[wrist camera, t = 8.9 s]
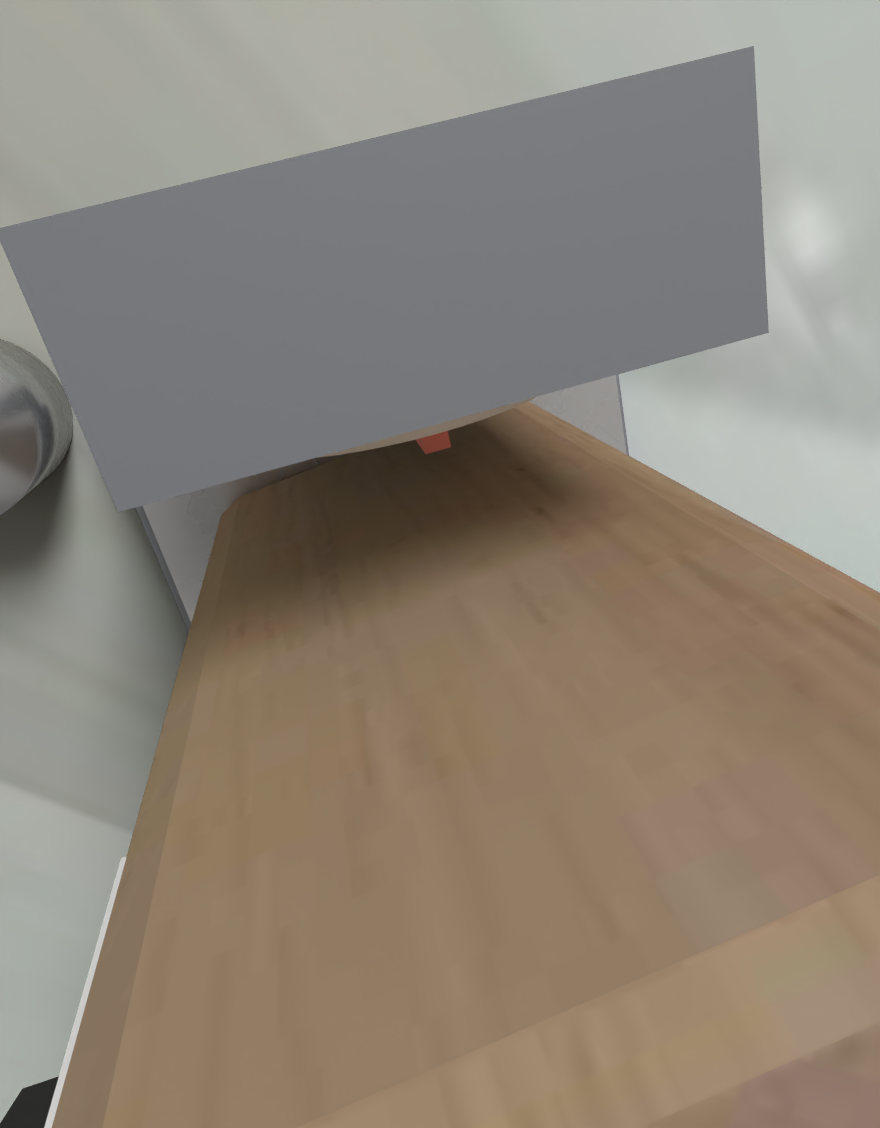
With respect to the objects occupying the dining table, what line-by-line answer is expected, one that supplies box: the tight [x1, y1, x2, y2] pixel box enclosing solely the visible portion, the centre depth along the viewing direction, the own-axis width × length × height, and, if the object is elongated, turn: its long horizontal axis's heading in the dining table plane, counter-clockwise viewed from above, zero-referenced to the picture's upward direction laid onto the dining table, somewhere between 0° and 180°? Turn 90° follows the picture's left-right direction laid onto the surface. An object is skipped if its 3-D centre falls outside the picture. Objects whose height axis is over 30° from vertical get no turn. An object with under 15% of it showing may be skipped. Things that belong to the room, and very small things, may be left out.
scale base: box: [0, 46, 769, 633], centre depth 20 cm, size 16×19×18 cm
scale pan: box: [143, 375, 627, 622], centre depth 26 cm, size 15×15×4 cm
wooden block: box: [52, 401, 880, 1128], centre depth 16 cm, size 10×10×20 cm
